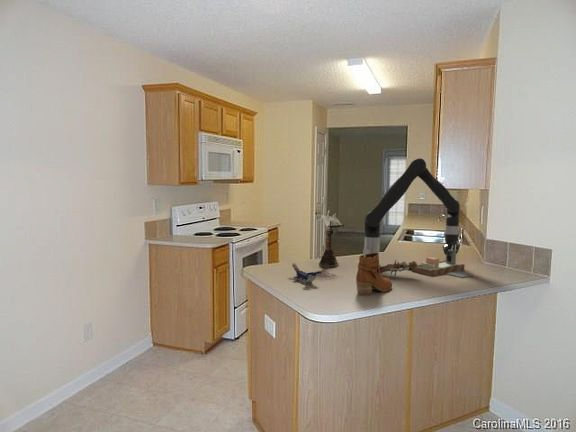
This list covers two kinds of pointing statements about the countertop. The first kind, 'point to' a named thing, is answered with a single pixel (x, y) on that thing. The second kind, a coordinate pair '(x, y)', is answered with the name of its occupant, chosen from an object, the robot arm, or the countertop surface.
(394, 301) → the countertop surface
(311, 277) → the toy
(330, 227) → the bird statue
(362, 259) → the boot
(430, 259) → the cube
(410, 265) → the figurine
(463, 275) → the pad
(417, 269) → the lane board
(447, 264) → the light green piece
